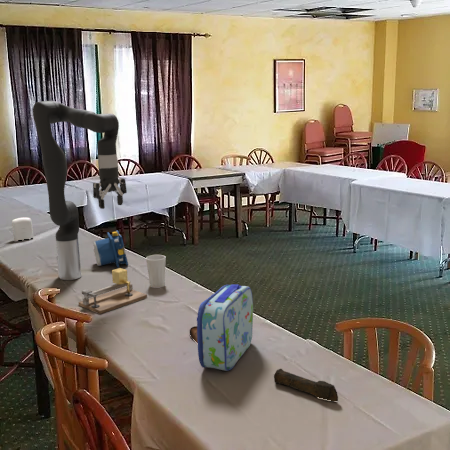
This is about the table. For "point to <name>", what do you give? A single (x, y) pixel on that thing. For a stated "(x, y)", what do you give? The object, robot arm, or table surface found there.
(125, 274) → the sliding block
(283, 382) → the hand tool
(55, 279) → the table surface
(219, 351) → the lunch box
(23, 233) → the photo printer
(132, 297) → the board
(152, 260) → the cup
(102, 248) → the blue piece
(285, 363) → the table surface
